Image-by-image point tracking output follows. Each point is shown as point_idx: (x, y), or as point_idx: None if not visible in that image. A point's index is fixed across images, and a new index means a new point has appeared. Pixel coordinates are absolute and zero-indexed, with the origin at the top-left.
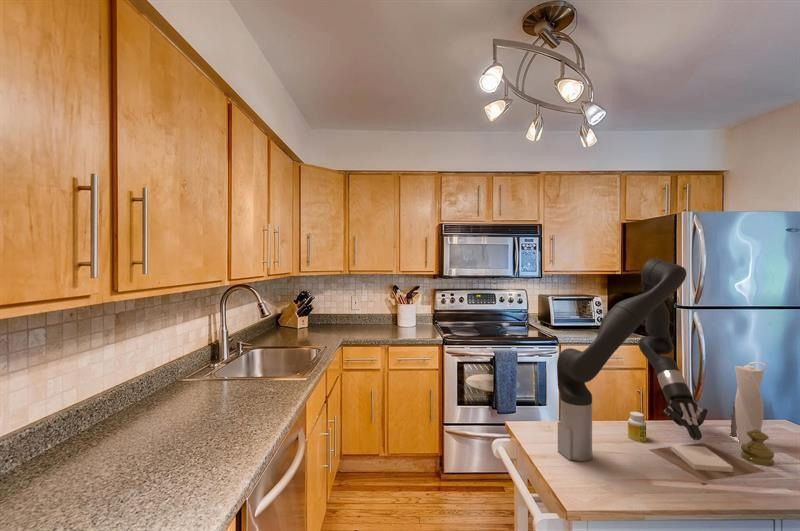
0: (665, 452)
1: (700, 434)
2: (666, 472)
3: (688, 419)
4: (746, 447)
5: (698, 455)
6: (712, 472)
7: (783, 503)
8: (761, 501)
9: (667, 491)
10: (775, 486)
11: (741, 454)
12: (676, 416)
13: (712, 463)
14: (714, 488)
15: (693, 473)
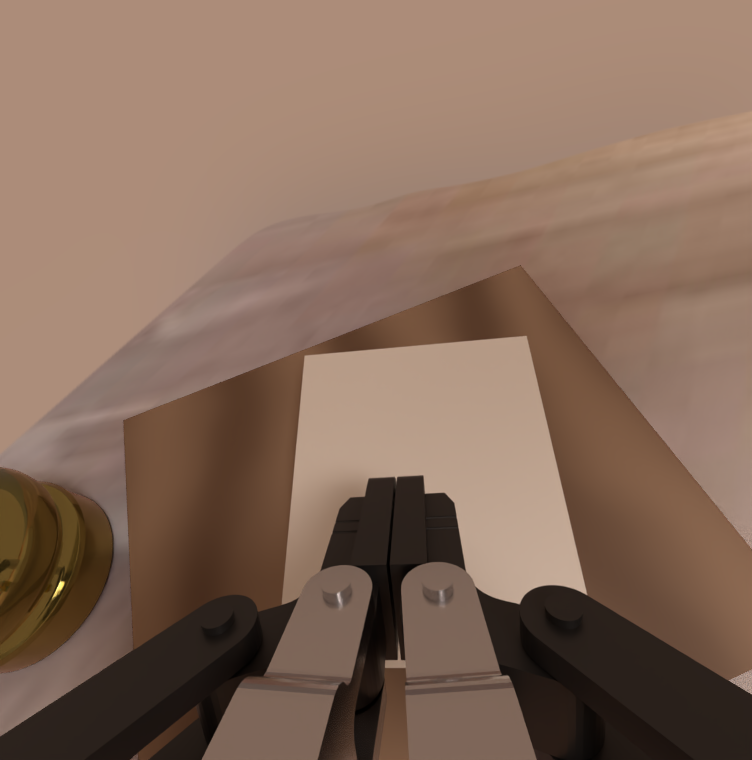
0: (656, 589)
1: (352, 512)
2: (680, 354)
3: (436, 651)
4: (4, 555)
5: (434, 470)
6: None
7: (274, 237)
8: (345, 230)
9: (706, 203)
10: (191, 339)
11: (60, 611)
12: (734, 718)
13: (401, 372)
14: (479, 268)
15: (545, 315)
